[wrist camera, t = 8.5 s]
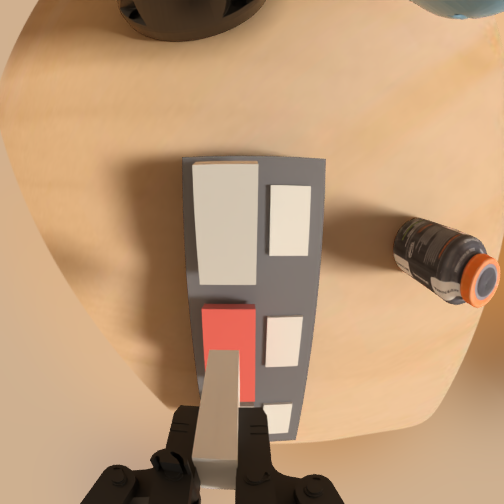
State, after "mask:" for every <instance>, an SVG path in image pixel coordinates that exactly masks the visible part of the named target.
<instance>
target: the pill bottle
mask: <svg viewBox="0 0 504 504" xmlns="http://www.w3.org/2000/svg"><path fill="white" fill-rule="evenodd" d="M393 253H394V258H395V262H396V263H397V265H398V267H399V268H400V269H401V270H402V271H404V272H405V273H407V274H408V275H410V276H411V277H412V278H414V279H415V280H417V281H418V282H420V283H421V284H423V285H424V286H425V287H427V288H428V289H430V290H431V291H432V292H434V293H435V294H436V295H438V296H439V297H440V298H442V299H443V300H444V301H446V302H448V303H450V304H454V305H458V304H463V303H465V302H467V303H469V304H470V305H472V306H473V307H476V308H479V307H482V306H484V305H485V304H486V303H487V302H489V300H490V299H491V298H492V297H493V295H494V293H495V291H496V289H497V287H498V284H499V279H500V267H499V264H498V262H497V261H496V260H495V259H494V258H492V257H490V256H488V255H487V253H486V249H485V247H484V245H483V244H482V242H481V241H480V240H478V239H477V238H475V237H473V236H471V235H468V234H466V233H463V232H461V231H459V230H456V229H453V228H450V227H447V226H444V225H441V224H438V223H435V222H432V221H429V220H425V219H421V218H416V219H413V220H410V221H408V222H407V223H405V224H404V225H403V226H402V227H401V229H400V230H399V231H398V234H397V236H396V238H395V242H394V248H393Z"/></svg>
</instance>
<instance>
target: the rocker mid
mask: <svg viewBox="0 0 504 504" xmlns="http://www.w3.org/2000/svg"><path fill="white" fill-rule="evenodd" d="M202 328H203V345H204V361H205V372H206V366H207V360H208V354H209V350H239V371H240V402H255V335H256V308H255V304H204V305H203V307H202Z"/></svg>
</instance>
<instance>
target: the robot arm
mask: <svg viewBox="0 0 504 504" xmlns="http://www.w3.org/2000/svg"><path fill="white" fill-rule="evenodd" d="M410 1H411V2H413V3H415V4H417V5H418V6H420V7H422V8H423V9H425V10H427V11H429V12H431V13H433V14H435V15H438V16H441V17H445V18H450V19H467V18H473V19H476V18H483V17H488V16H491V15H495V14H498V13H501V12H503V11H504V0H410ZM117 2H118V7H119V9H120V12H121V14H122V15H123V17H124V18H125V19H126V20H127V22H128V23H129V24H130V25H131V26H132V27H133V28H134V29H135V30H136V31H138V32H139V33H141V34H143V35H145V36H147V37H150V38H154V39H158V40H165V41H189V40H196V39H201V38H206V37H210V36H214V35H217V34H220V33H222V32H225V31H227V30H230V29H232V28H234V27H236V26H238V25H240V24H241V23H243V22H245V21H246V20H248V19H249V18H250V17H251V16H253V15H254V14H255V13H256V12H257V11H258V10H259V9H260V8H261V6H262V5H263V4H264V2H265V0H117ZM150 461H151V463H152V465H153V468H151V469H146V470H133V471H132V470H131V469H129V468H127V467H126V466H123V465H112V466H110V467H108V468H107V469H105V470H104V471H103V473H102V474H101V476H100V477H99V479H98V480H97V481H96V483H95V484H94V485H93V487H92V488H91V490H90V491H89V493H88V494H87V495H86V496H85V498H84V499H83V501H82V502H81V503H80V504H201V497H200V485H201V487H202V488H211V489H234V490H236V492H235V504H344V502H343V500H342V499H341V497H340V495H339V494H338V492H337V490H336V489H335V487H334V485H333V484H332V482H331V481H330V480H329V479H328V478H326V477H324V476H322V475H316V474H313V475H307V476H305V477H303V478H296V477H290V476H286V475H283V474H281V473H279V472H278V471H277V470H275V468H274V467H273V465H272V462H271V453H270V442H269V431H268V419H267V415H266V413H265V412H264V410H263V409H262V407H240V371H239V350H209V354H208V360H207V366H206V372H205V377H204V383H203V389H202V395H201V401H200V407H196V406H183V405H181V406H180V407H179V408H178V409H177V410H176V411H175V413H174V416H173V420H172V424H171V428H170V432H169V436H168V440H167V444H166V449H162V450H159V451H157V452H156V453H154V454H153V455H152V457H151V459H150Z"/></svg>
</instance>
